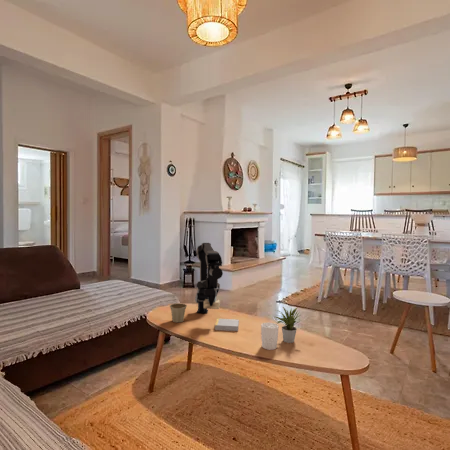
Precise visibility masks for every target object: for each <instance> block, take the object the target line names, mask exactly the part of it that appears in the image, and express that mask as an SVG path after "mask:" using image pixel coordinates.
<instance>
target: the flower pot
mask: <svg viewBox="0 0 450 450" xmlns="http://www.w3.org/2000/svg"><path fill="white" fill-rule="evenodd" d="M187 306H188V305H187V304H185V303H181V302H180V303H173V304H169V308H170V311H171V313H170V314H171V319H172V322H173V323H176V324H177V323H182V322H184V319H185V312H186V309H187Z"/></svg>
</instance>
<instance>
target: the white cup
mask: <svg viewBox="0 0 450 450" xmlns="http://www.w3.org/2000/svg"><path fill="white" fill-rule="evenodd" d="M260 331H261V333H260V334H261V338H260V339H261V348H263V349H265V350H267V351H269V350H270V351H273V350H276V349H277V348H278V340H279V339H278V338H279V336H278V335H279V324H278V323H275V322H262V323H261V325H260Z"/></svg>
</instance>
